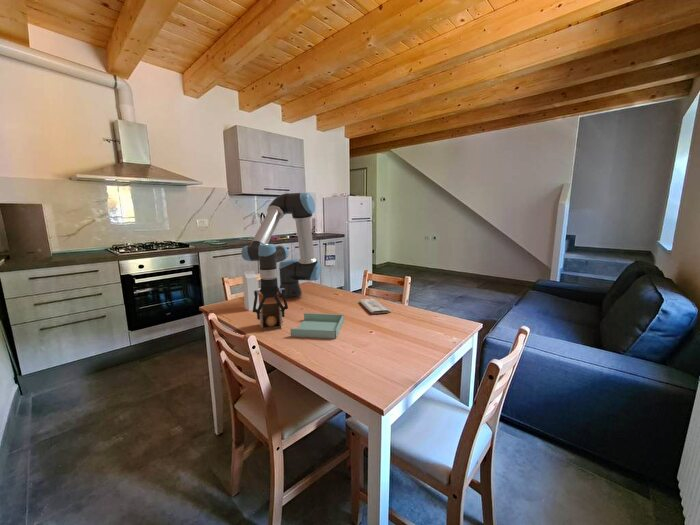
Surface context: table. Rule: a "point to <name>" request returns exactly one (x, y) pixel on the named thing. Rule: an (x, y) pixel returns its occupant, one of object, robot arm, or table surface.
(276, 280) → the robot arm
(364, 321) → the table surface
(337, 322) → the tray
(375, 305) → the newspaper
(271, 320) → the ball
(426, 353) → the table surface
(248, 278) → the milk
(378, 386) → the table surface
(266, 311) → the sleeve
